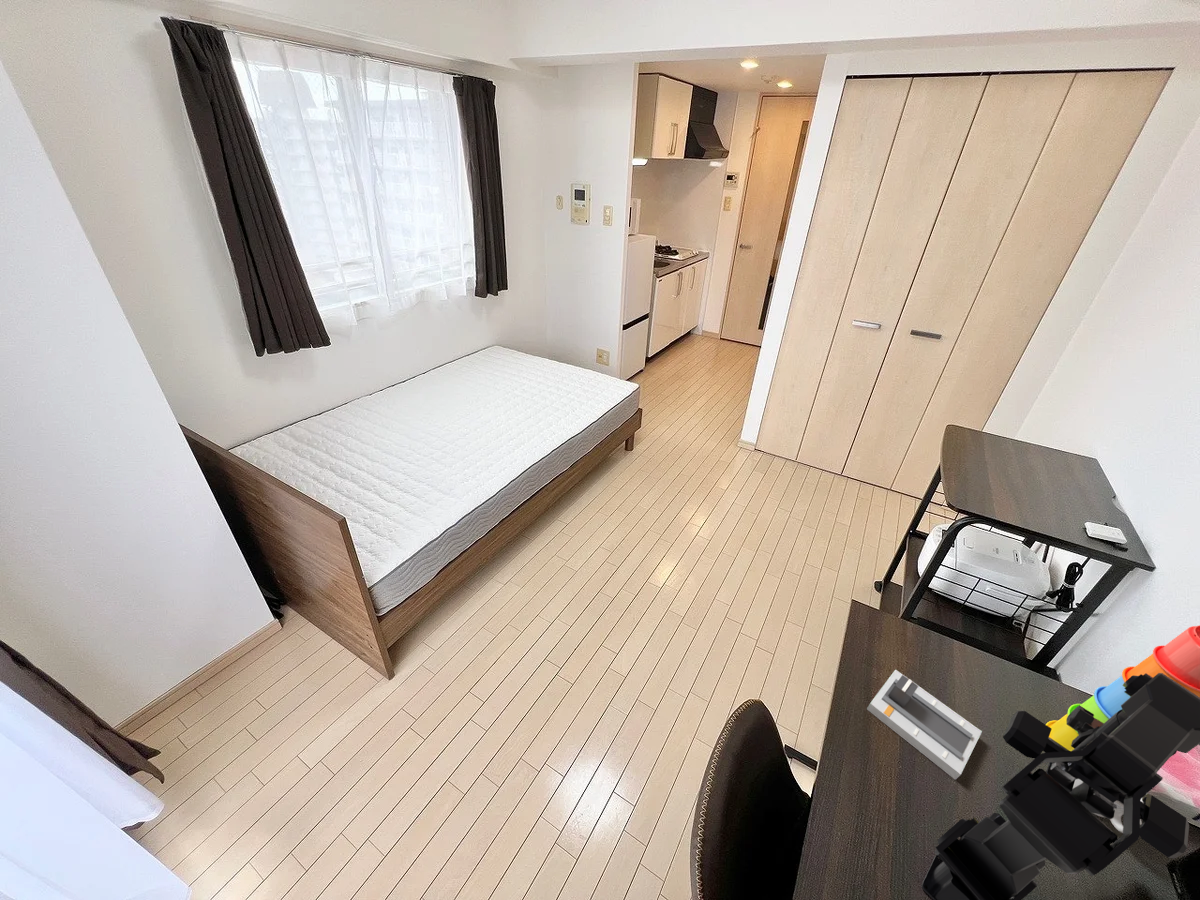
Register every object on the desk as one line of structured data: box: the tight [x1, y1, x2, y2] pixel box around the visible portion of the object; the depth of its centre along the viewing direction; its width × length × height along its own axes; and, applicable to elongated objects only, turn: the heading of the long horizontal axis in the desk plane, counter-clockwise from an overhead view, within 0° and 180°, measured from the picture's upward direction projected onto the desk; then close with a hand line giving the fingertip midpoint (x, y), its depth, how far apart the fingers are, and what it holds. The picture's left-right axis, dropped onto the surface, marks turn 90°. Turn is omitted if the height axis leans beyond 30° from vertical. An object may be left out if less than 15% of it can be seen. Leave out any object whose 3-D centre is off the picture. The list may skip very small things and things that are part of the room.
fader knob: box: [888, 674, 919, 707], centre depth 94 cm, size 4×3×4 cm
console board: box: [866, 669, 983, 781], centre depth 93 cm, size 12×16×2 cm
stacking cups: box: [1045, 625, 1200, 751], centre depth 82 cm, size 10×10×35 cm
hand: (1054, 803), depth 72 cm, fingers closed
